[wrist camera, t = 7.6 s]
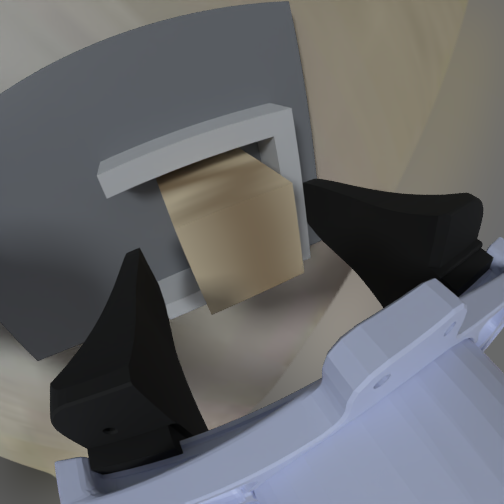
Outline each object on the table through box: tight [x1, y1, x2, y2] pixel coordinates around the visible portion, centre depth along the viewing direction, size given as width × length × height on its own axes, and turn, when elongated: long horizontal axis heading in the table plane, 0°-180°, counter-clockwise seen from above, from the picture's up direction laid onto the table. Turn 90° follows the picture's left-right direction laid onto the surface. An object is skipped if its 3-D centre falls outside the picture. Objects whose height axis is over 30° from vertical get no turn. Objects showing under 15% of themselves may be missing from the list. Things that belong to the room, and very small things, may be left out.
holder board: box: [0, 1, 321, 361], centre depth 12 cm, size 20×14×3 cm
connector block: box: [156, 148, 304, 315], centre depth 12 cm, size 4×4×5 cm
